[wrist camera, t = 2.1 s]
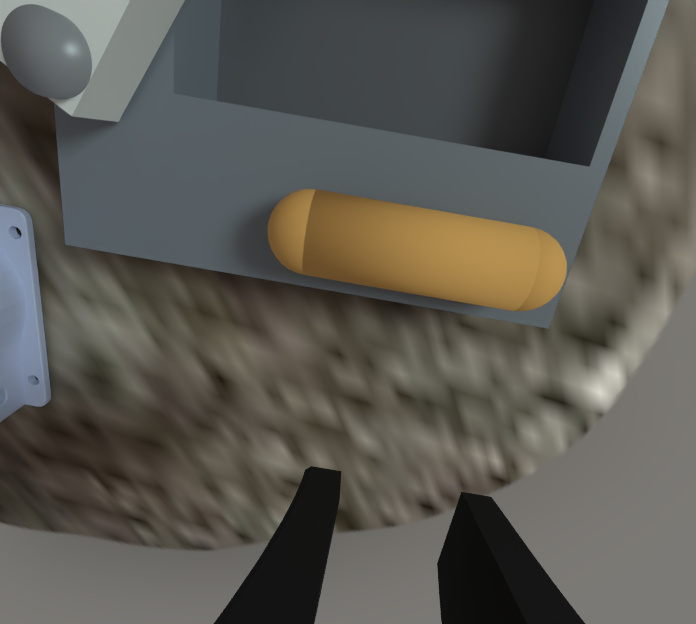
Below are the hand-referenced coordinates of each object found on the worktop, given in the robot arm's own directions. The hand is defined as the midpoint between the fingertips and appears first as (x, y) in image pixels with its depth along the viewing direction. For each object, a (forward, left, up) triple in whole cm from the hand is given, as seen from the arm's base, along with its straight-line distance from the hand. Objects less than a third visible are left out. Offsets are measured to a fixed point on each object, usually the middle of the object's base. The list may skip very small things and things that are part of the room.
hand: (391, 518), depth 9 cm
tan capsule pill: (+5, 0, -6) cm, 8 cm away
